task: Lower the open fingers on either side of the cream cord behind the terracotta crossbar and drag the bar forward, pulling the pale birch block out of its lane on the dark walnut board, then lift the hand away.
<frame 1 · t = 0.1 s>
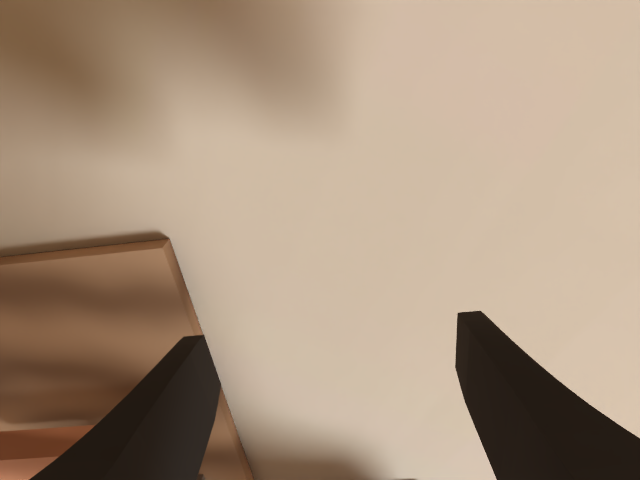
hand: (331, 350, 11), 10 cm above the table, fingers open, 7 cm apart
lane board: (131, 440, 30), on the table
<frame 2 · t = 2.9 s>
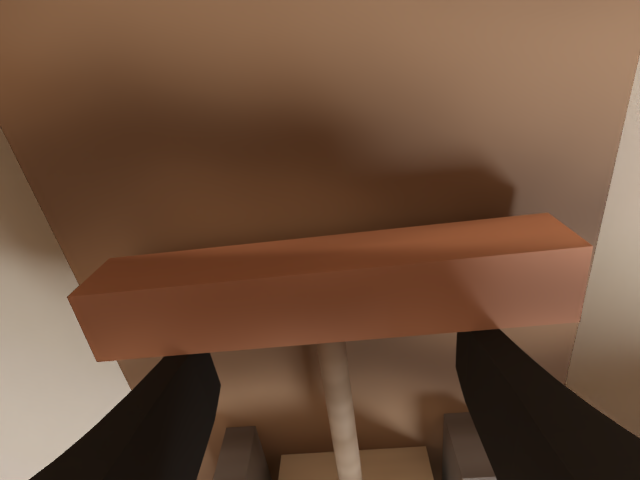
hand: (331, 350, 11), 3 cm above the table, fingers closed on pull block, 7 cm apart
lane board: (339, 344, 15), on the table
when the fingers open (3 cm above the table, at t = 3.3 s): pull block moves 5 cm, resting on lane board.
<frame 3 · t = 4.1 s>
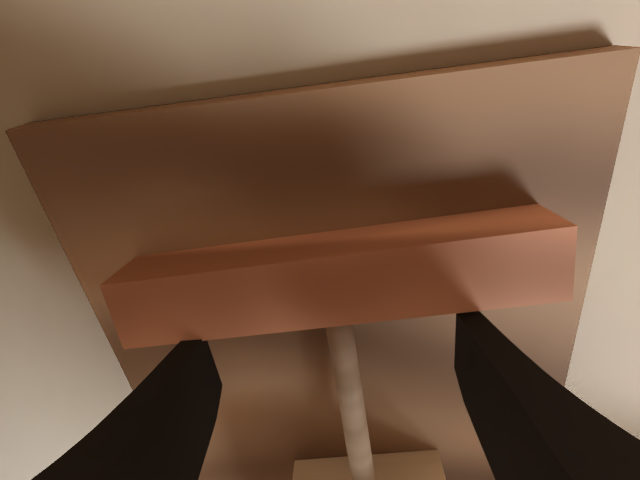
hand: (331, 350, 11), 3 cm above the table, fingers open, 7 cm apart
lane board: (355, 454, 18), on the table
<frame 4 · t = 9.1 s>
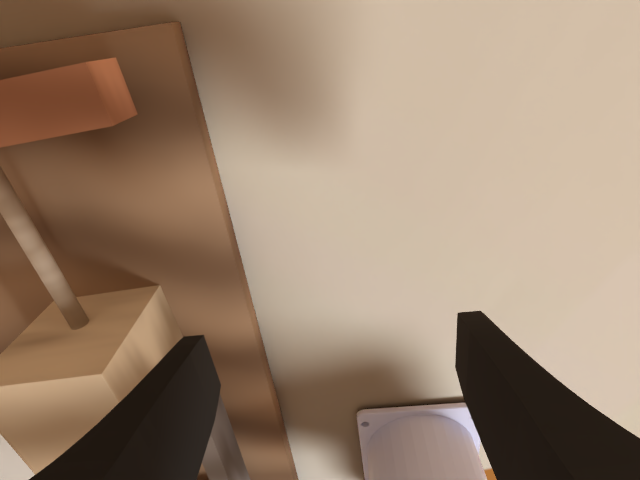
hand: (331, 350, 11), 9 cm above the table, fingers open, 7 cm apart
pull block: (129, 335, 22), point 1 cm above the table, touching lane board
lane board: (129, 342, 24), on the table
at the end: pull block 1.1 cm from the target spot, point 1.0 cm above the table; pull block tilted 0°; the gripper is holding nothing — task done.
